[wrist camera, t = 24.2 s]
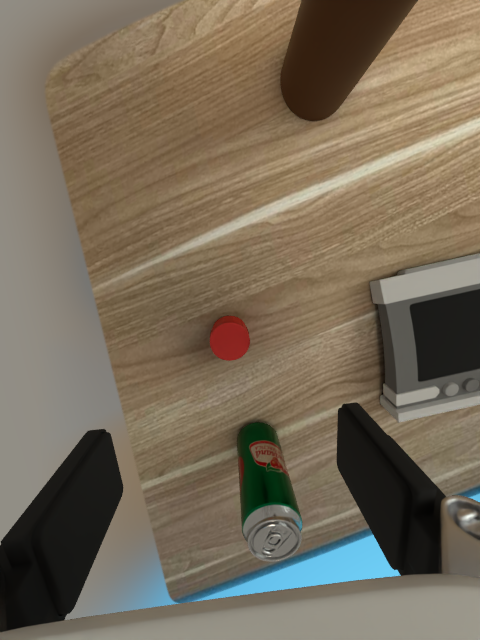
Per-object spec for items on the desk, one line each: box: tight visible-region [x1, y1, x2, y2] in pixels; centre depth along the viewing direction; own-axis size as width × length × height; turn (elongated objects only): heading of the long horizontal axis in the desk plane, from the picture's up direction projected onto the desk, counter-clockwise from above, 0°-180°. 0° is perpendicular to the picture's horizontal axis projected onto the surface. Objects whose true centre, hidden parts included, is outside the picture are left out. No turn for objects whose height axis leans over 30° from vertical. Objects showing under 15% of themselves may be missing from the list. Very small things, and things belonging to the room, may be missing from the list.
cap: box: [210, 316, 250, 361], centre depth 26 cm, size 4×4×3 cm
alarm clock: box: [370, 253, 480, 422], centre depth 28 cm, size 17×5×16 cm
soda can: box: [237, 422, 302, 561], centre depth 25 cm, size 5×5×12 cm
